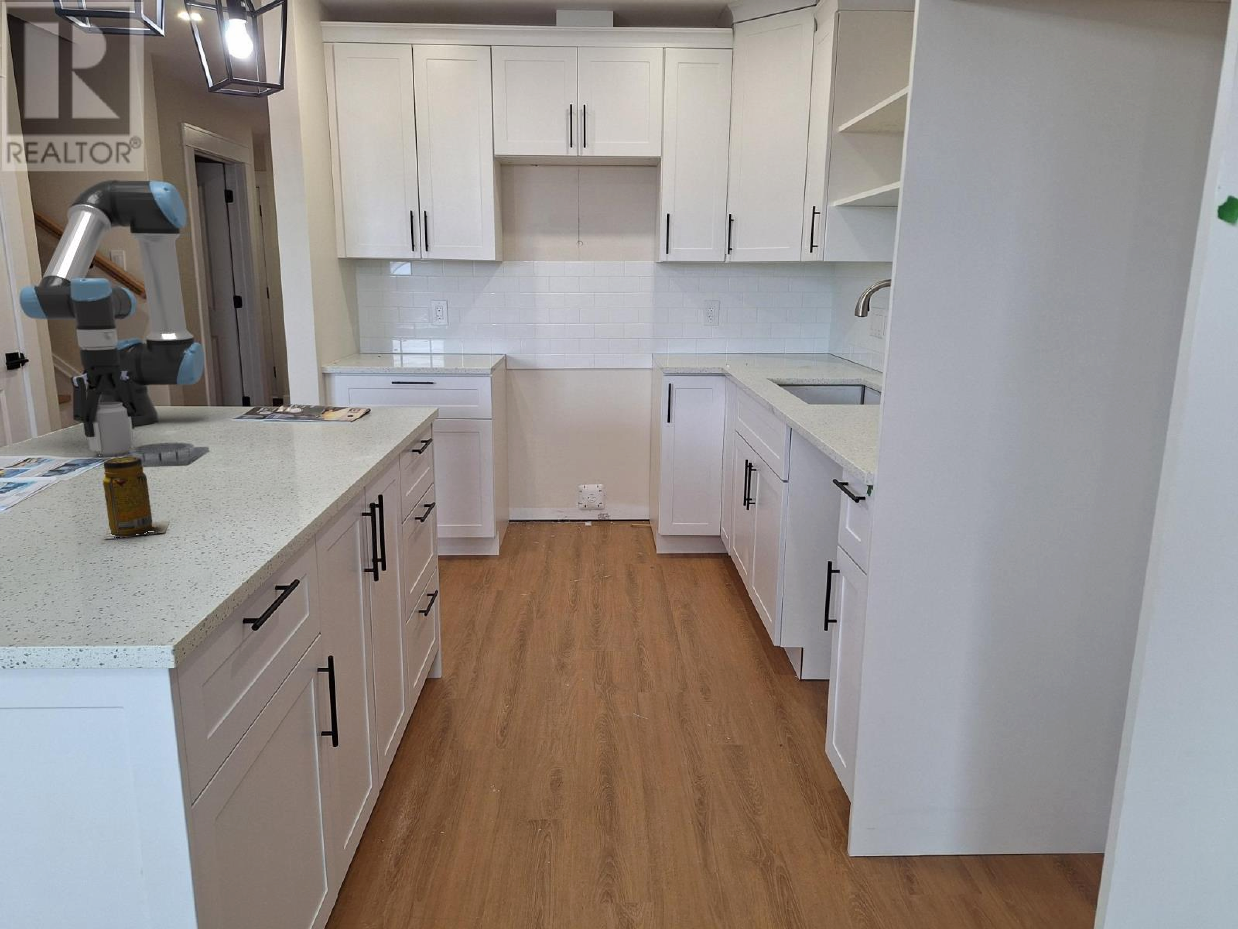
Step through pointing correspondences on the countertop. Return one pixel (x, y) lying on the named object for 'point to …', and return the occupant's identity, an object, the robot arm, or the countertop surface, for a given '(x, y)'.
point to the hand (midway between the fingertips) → (112, 446)
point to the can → (113, 429)
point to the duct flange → (167, 454)
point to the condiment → (128, 499)
